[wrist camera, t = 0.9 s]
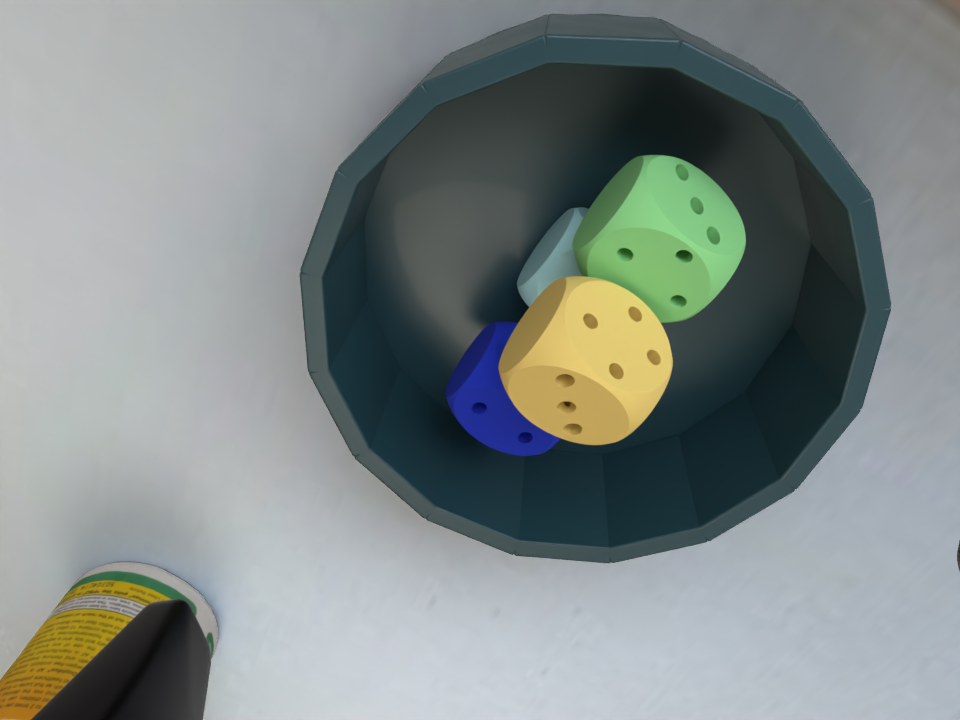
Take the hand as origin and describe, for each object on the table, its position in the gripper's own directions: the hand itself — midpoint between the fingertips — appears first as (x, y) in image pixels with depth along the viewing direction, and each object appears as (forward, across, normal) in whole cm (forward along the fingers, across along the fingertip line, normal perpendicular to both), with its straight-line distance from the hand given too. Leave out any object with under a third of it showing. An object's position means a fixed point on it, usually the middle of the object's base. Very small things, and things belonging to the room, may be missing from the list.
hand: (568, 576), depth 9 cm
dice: (+12, -2, +2) cm, 12 cm away
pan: (+12, -2, +2) cm, 13 cm away
